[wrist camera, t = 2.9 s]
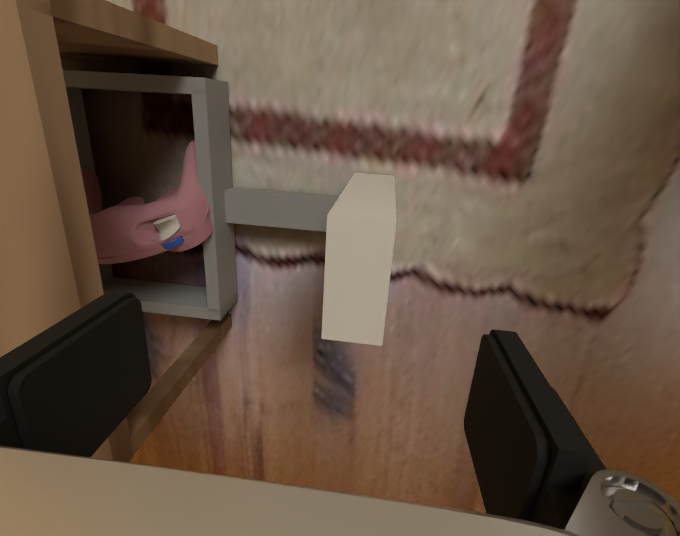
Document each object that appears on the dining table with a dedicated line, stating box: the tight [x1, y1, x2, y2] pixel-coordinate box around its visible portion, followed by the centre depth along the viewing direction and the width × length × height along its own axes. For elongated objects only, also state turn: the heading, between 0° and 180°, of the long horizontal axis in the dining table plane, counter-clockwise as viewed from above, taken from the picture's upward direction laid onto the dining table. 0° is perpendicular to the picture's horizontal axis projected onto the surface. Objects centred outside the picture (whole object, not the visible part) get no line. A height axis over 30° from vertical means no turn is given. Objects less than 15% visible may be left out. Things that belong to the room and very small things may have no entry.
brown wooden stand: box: [0, 0, 232, 462], centre depth 20 cm, size 10×18×13 cm, turn 176°
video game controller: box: [81, 139, 213, 264], centre depth 24 cm, size 10×5×7 cm, turn 101°
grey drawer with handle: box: [63, 70, 396, 346], centre depth 20 cm, size 20×14×11 cm
